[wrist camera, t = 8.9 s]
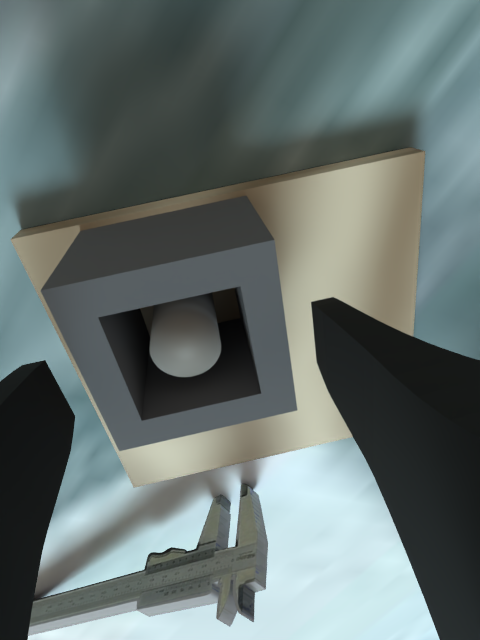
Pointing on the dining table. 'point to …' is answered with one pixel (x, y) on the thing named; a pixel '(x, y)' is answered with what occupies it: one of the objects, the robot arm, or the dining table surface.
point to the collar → (165, 286)
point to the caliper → (177, 576)
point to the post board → (297, 293)
